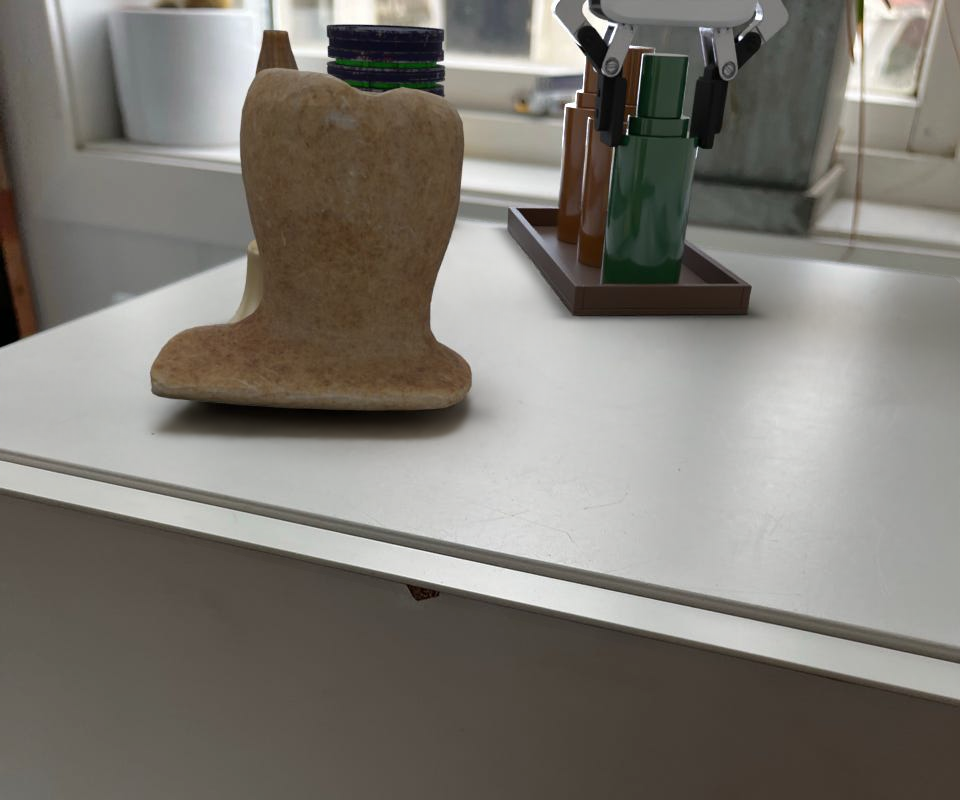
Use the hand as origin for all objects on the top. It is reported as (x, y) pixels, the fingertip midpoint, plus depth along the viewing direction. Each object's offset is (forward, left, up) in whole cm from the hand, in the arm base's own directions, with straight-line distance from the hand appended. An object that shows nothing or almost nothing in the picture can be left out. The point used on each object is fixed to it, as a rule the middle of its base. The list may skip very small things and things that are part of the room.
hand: (655, 142), depth 67 cm
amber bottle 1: (0, -16, -9) cm, 19 cm away
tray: (0, -8, -10) cm, 13 cm away
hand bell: (+24, +10, -10) cm, 28 cm away
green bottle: (0, 0, -9) cm, 9 cm away
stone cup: (+22, +20, -10) cm, 32 cm away
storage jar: (+16, -25, -10) cm, 31 cm away
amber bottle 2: (0, -8, -9) cm, 12 cm away
